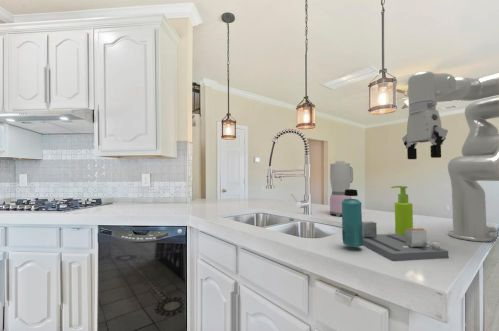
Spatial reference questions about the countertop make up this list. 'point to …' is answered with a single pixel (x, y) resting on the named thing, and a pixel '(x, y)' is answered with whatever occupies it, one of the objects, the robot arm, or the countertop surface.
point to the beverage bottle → (352, 220)
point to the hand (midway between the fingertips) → (423, 158)
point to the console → (402, 248)
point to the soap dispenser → (403, 212)
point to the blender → (339, 185)
